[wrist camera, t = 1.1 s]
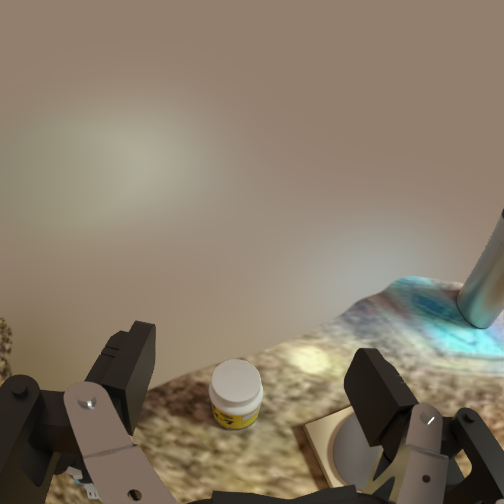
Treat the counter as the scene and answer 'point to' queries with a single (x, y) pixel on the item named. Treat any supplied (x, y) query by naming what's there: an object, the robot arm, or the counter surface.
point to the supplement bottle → (235, 394)
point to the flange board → (342, 449)
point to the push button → (76, 471)
